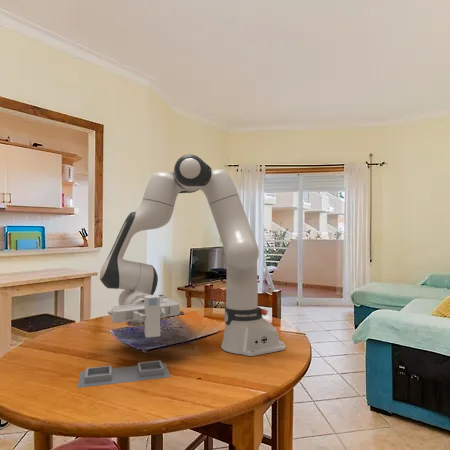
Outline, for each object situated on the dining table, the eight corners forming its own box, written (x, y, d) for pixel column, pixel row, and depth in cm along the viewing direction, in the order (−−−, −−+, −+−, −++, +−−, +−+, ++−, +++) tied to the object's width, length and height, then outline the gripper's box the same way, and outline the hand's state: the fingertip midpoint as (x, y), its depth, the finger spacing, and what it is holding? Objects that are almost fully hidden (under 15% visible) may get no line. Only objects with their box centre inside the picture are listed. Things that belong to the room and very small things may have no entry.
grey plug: (158, 332, 107) (158, 294, 107) (160, 336, 102) (160, 297, 102) (144, 333, 105) (144, 295, 106) (146, 338, 101) (145, 298, 101)
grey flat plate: (165, 364, 111) (165, 357, 111) (171, 378, 100) (171, 370, 100) (80, 373, 103) (80, 365, 103) (77, 390, 93) (77, 381, 93)
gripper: (106, 300, 111) (115, 309, 99) (170, 294, 120) (186, 301, 108) (106, 321, 111) (115, 332, 99) (170, 313, 120) (186, 323, 108)
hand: (153, 316), depth 103 cm, fingers closed on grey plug, 4 cm apart
